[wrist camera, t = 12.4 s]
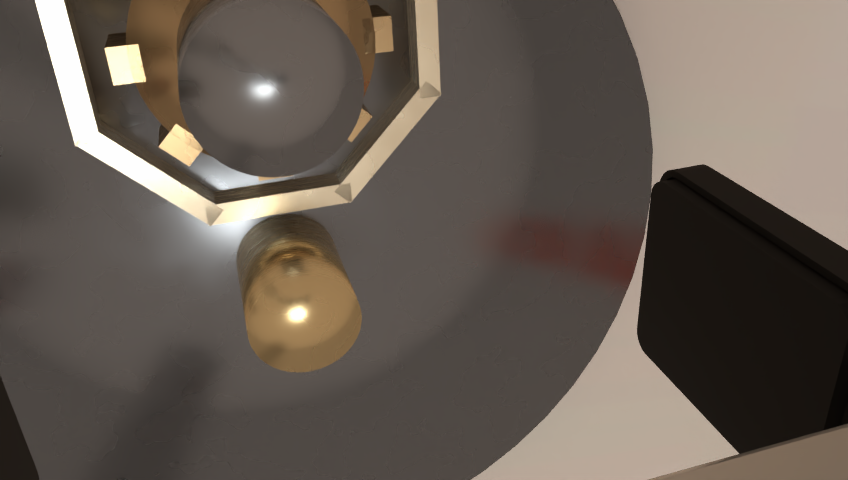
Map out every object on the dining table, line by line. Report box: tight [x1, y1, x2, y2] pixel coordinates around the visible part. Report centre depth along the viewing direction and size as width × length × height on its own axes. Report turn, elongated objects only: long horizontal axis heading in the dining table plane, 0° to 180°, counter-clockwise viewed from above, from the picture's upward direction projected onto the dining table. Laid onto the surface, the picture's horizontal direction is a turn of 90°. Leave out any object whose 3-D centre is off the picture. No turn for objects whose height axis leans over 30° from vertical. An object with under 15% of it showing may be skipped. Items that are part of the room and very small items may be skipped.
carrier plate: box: [0, 0, 653, 480], centre depth 30 cm, size 33×33×6 cm
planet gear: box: [105, 0, 394, 181], centre depth 24 cm, size 9×9×7 cm
